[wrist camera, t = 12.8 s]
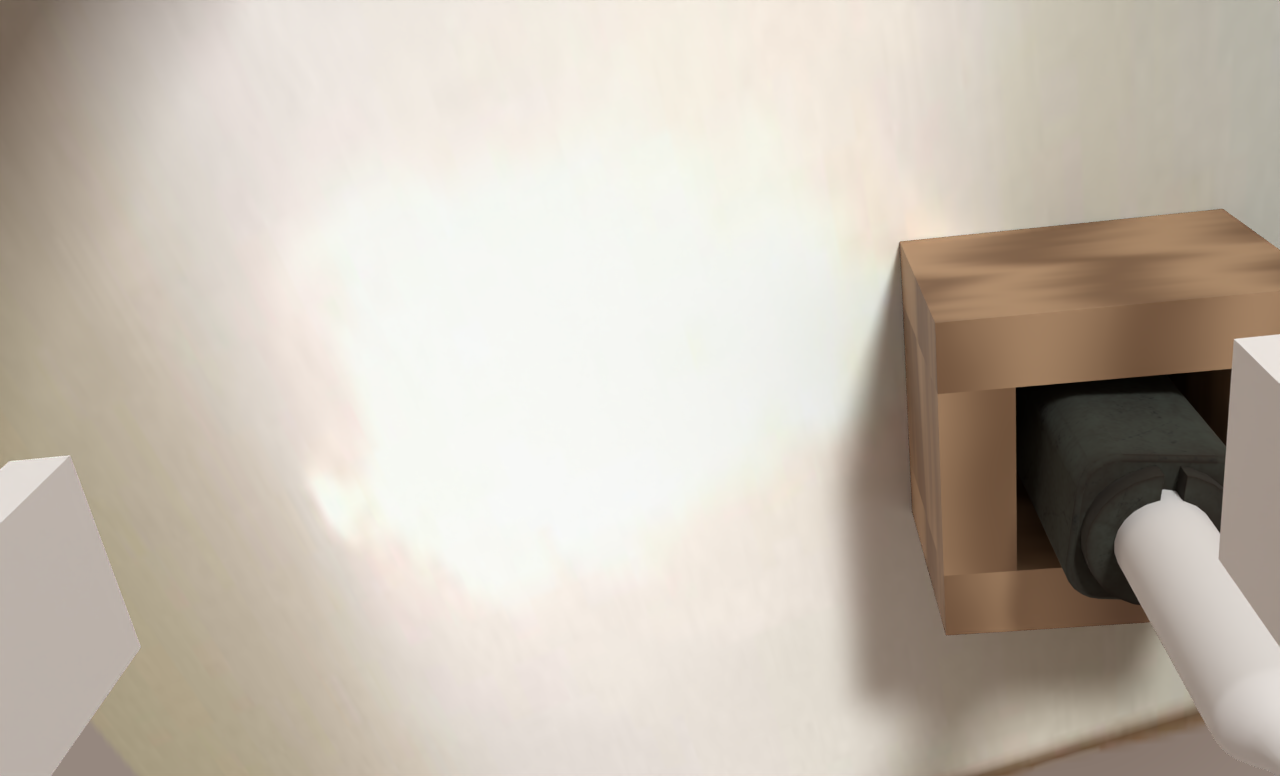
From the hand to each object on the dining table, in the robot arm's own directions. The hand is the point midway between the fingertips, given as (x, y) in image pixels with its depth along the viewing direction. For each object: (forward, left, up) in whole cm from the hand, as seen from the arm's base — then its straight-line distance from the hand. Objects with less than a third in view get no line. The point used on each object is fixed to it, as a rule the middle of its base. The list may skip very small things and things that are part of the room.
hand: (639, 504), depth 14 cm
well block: (+13, -14, -34) cm, 39 cm away
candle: (+13, -14, -34) cm, 39 cm away
